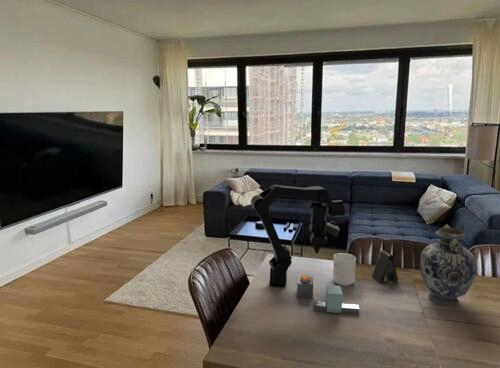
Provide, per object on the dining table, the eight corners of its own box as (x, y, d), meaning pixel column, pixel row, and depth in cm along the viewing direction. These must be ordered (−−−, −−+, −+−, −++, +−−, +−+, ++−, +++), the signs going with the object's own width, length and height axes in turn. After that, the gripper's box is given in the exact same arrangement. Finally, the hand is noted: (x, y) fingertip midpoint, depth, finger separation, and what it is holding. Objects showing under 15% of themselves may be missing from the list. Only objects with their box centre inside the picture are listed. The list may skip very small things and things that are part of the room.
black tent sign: (379, 283, 150) (382, 256, 148) (371, 276, 156) (373, 251, 153) (398, 280, 152) (401, 254, 150) (389, 274, 158) (392, 249, 155)
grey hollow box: (296, 297, 137) (297, 283, 136) (296, 290, 143) (297, 276, 142) (312, 298, 137) (313, 284, 136) (311, 291, 143) (312, 277, 141)
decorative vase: (478, 318, 124) (488, 242, 119) (420, 309, 130) (427, 236, 125) (464, 290, 144) (472, 224, 139) (414, 284, 150) (419, 220, 145)
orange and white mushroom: (300, 295, 138) (300, 278, 137) (299, 290, 142) (300, 274, 141) (309, 295, 138) (310, 279, 137) (309, 291, 141) (309, 274, 140)
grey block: (326, 312, 126) (328, 293, 125) (325, 303, 132) (326, 285, 131) (341, 313, 126) (342, 294, 124) (339, 304, 132) (340, 286, 130)
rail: (313, 310, 128) (314, 300, 128) (313, 306, 131) (313, 296, 131) (359, 314, 127) (359, 303, 126) (357, 309, 130) (358, 299, 129)
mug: (358, 284, 148) (360, 259, 146) (340, 288, 145) (341, 262, 143) (342, 272, 159) (343, 249, 157) (324, 275, 156) (326, 251, 154)
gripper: (341, 225, 136) (339, 263, 139) (336, 211, 154) (334, 245, 157) (312, 223, 137) (310, 261, 140) (310, 210, 155) (308, 244, 159)
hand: (316, 252), depth 149 cm, fingers closed
